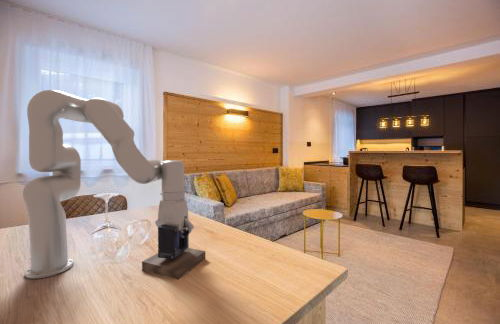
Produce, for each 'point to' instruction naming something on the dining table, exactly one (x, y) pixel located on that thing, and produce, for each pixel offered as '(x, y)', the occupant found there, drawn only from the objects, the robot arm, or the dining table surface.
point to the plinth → (174, 263)
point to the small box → (169, 242)
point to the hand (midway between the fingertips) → (174, 246)
